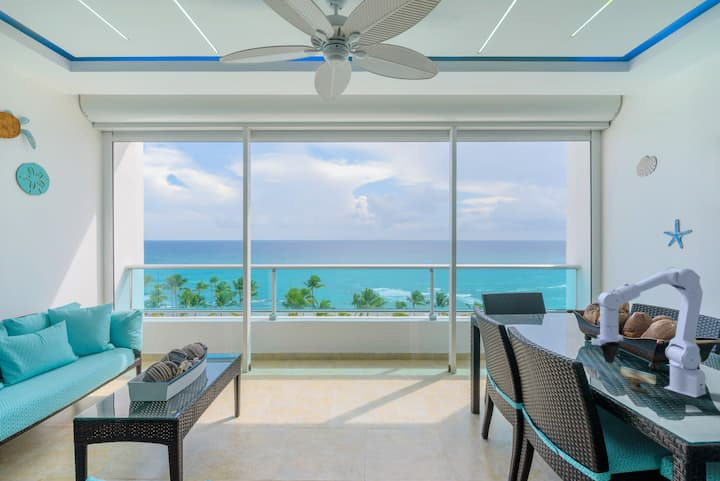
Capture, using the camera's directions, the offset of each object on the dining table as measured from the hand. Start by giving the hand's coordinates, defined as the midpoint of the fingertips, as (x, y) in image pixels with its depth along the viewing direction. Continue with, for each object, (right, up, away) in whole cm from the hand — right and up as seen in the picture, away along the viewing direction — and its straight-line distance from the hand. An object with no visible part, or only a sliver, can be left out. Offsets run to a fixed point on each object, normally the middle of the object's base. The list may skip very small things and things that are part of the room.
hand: (609, 362), depth 145 cm
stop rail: (+17, -9, +9) cm, 21 cm away
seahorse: (+12, -10, +2) cm, 15 cm away
